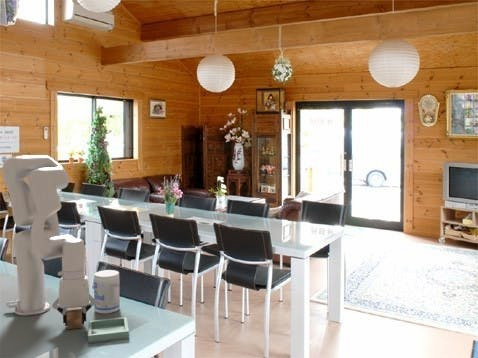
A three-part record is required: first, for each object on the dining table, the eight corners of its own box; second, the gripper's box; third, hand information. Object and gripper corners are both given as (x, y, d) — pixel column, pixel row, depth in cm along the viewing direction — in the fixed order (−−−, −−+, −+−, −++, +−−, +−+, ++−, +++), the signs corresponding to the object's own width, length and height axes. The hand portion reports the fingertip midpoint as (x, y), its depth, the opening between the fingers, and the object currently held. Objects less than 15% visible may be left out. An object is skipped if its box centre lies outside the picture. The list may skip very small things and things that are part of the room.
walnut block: (67, 329, 165) (66, 312, 165) (67, 323, 170) (67, 307, 169) (82, 327, 167) (81, 311, 166) (82, 322, 171) (82, 306, 171)
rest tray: (88, 343, 154) (87, 335, 154) (88, 328, 167) (88, 320, 167) (128, 338, 158) (128, 331, 158) (126, 323, 171) (126, 316, 170)
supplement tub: (89, 312, 182) (88, 275, 181) (104, 304, 191) (103, 268, 189) (110, 315, 178) (109, 277, 177) (125, 307, 187) (124, 271, 186)
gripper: (46, 279, 160) (48, 330, 162) (99, 275, 165) (99, 325, 167) (48, 272, 168) (50, 322, 169) (99, 269, 172) (99, 317, 174)
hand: (74, 323), depth 168 cm, fingers closed on walnut block, 5 cm apart
